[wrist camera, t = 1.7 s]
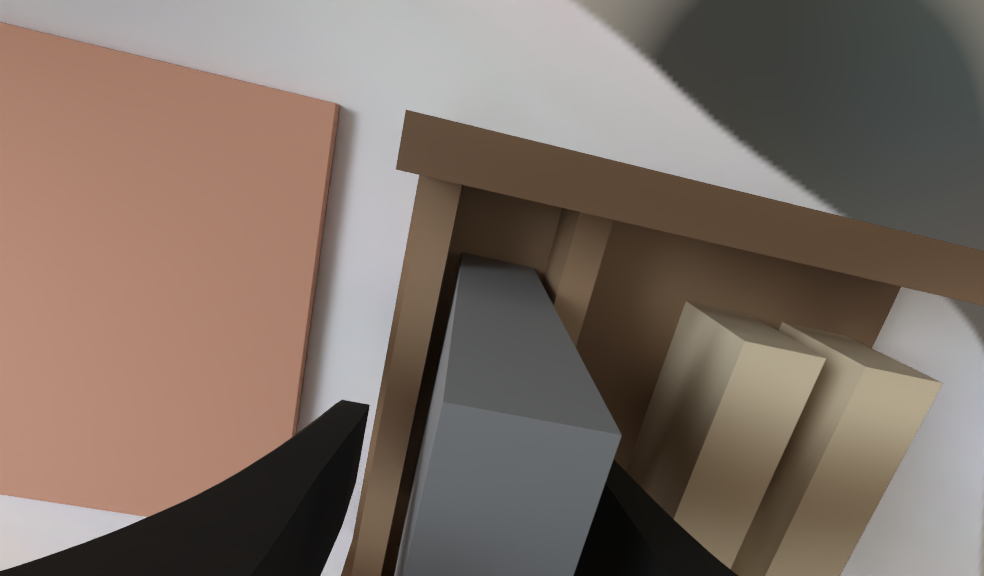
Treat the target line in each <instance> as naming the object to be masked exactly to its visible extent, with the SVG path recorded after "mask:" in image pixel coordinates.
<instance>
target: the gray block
mask: <svg viewBox="0 0 984 576" xmlns="http://www.w3.org/2000/svg"><path fill="white" fill-rule="evenodd" d="M621 436H622V435H621V433H620V431H619V429H618V427H617V425H616V423H615V421H614V419H613V418H612V416H611V414H610V412H609V410H608V408H607V406H606V404H605V402H604V400H603V399H602V397H601V395H600V393H599V391H598V389H597V387H596V385H595V383H594V382H593V380H592V378H591V376H590V374H589V372H588V370H587V368H586V366H585V364H584V363H583V361H582V359H581V357H580V355H579V353H578V351H577V349H576V347H575V346H574V344H573V342H572V340H571V338H570V336H569V334H568V332H567V330H566V329H565V327H564V325H563V323H562V321H561V319H560V317H559V315H558V313H557V311H556V310H555V308H554V306H553V304H552V302H551V300H550V298H549V296H548V294H547V293H546V291H545V289H544V287H543V285H542V283H541V281H540V279H539V277H538V275H537V274H536V272H535V270H534V268H533V267H528V266H523V265H519V264H514V263H510V262H505V261H500V260H496V259H491V258H487V257H482V256H477V255H473V254H468V253H464V252H462V256H461V260H460V265H459V269H458V274H457V279H456V283H455V288H454V293H453V297H452V302H451V306H450V311H449V316H448V320H447V325H446V330H445V334H444V339H443V343H442V348H441V353H440V357H439V362H438V367H437V371H436V376H435V380H434V385H433V390H432V394H431V399H430V404H429V408H428V413H427V417H426V422H425V427H424V431H423V436H422V441H421V445H420V450H419V454H418V459H417V464H416V468H415V473H414V478H413V482H412V487H411V491H410V496H409V501H408V507H407V512H406V517H405V522H404V527H403V533H402V538H401V543H400V548H399V554H398V559H397V564H396V569H395V574H394V576H573V575H574V572H575V569H576V566H577V564H578V561H579V558H580V555H581V552H582V549H583V546H584V543H585V540H586V538H587V535H588V532H589V529H590V526H591V523H592V520H593V517H594V514H595V511H596V509H597V506H598V503H599V500H600V497H601V494H602V491H603V488H604V485H605V482H606V480H607V477H608V474H609V471H610V468H611V465H612V462H613V459H614V456H615V453H616V451H617V448H618V445H619V442H620V439H621Z"/></svg>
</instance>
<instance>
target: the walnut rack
mask: <svg viewBox="0 0 984 576" xmlns="http://www.w3.org/2000/svg"><path fill="white" fill-rule="evenodd" d="M396 169H397V170H401V171H405V172H410V173H414V174H418V175H419V180H418V186H417V191H416V197H415V202H414V207H413V213H412V218H411V224H410V229H409V235H408V240H407V246H406V251H405V257H404V262H403V267H402V273H401V278H400V284H399V289H398V295H397V300H396V306H395V311H394V317H393V322H392V327H391V333H390V338H389V344H388V349H387V355H386V360H385V366H384V371H383V377H382V382H381V387H380V393H379V398H378V404H377V409H376V415H375V420H374V426H373V431H372V437H371V442H370V447H369V453H368V458H367V464H366V469H365V475H364V480H363V486H362V491H361V497H360V502H359V507H358V513H357V518H356V524H355V529H354V535H353V539H352V543H351V546H350V549H349V552H348V555H347V558H346V561H345V565H344V568H343V571H342V574H341V576H394V574H395V569H396V564H397V559H398V554H399V548H400V543H401V538H402V533H403V527H404V522H405V517H406V512H407V507H408V501H409V496H410V491H411V487H412V482H413V478H414V473H415V468H416V464H417V459H418V454H419V450H420V445H421V441H422V436H423V431H424V427H425V422H426V417H427V413H428V408H429V404H430V399H431V394H432V390H433V385H434V380H435V376H436V371H437V367H438V362H439V357H440V353H441V348H442V343H443V339H444V334H445V330H446V325H447V320H448V316H449V311H450V306H451V302H452V297H453V293H454V288H455V283H456V279H457V274H458V269H459V265H460V260H461V256H462V252H464V253H468V254H473V255H477V256H482V257H487V258H491V259H496V260H500V261H505V262H510V263H514V264H519V265H523V266H528V267H533V268H534V270H535V272H536V274H537V275H538V277H539V279H540V281H541V283H542V285H543V287H544V289H545V291H546V293H547V294H548V296H549V298H550V300H551V302H552V304H553V306H554V308H555V310H556V311H557V313H558V315H559V317H560V319H561V321H562V323H563V325H564V327H565V329H566V330H567V332H568V334H569V336H570V338H571V340H572V342H573V344H574V346H575V347H576V349H577V351H578V353H579V355H580V357H581V359H582V361H583V363H584V364H585V366H586V368H587V370H588V372H589V374H590V376H591V378H592V380H593V382H594V383H595V385H596V387H597V389H598V391H599V393H600V395H601V397H602V399H603V400H604V402H605V404H606V406H607V408H608V410H609V412H610V414H611V416H612V418H613V419H614V421H615V423H616V425H617V427H618V429H619V431H620V433H621V435H622V436H621V439H620V442H619V445H618V448H617V451H616V453H615V456H614V460H615V461H616V462H617V463H618V464H619V465H620V466H621V467H622V468H623V469H624V470H625V471H626V468H627V465H628V462H629V460H630V457H631V454H632V451H633V448H634V446H635V443H636V440H637V437H638V434H639V431H640V429H641V426H642V423H643V420H644V417H645V415H646V412H647V409H648V406H649V403H650V401H651V398H652V395H653V392H654V389H655V386H656V384H657V381H658V378H659V375H660V372H661V370H662V367H663V364H664V361H665V358H666V356H667V353H668V350H669V347H670V344H671V341H672V339H673V336H674V333H675V330H676V327H677V325H678V322H679V319H680V316H681V313H682V311H683V308H684V305H685V302H686V301H689V302H693V303H698V304H702V305H707V306H712V307H716V308H721V309H725V310H730V311H735V312H739V313H744V314H748V315H751V316H753V317H755V318H757V319H758V320H760V321H762V322H764V323H765V324H767V325H769V326H771V327H772V328H774V329H776V330H778V331H779V329H780V326H781V324H782V322H785V323H790V324H794V325H799V326H803V327H808V328H813V329H817V330H822V331H826V332H831V333H836V334H840V335H844V336H847V337H849V338H851V339H853V340H855V341H857V342H859V343H861V344H863V345H865V346H867V347H869V348H871V349H872V347H873V344H874V342H875V340H876V338H877V336H878V334H879V332H880V330H881V328H882V326H883V324H884V321H885V319H886V317H887V315H888V313H889V311H890V309H891V307H892V305H893V303H894V301H895V299H896V296H897V294H898V292H899V290H900V288H901V287H906V288H910V289H914V290H919V291H923V292H927V293H931V294H936V295H940V296H944V297H949V298H953V299H957V300H962V301H966V302H970V303H975V304H979V305H983V306H984V251H981V250H977V249H973V248H968V247H965V246H961V245H956V244H952V243H948V242H944V241H940V240H936V239H932V238H928V237H924V236H920V235H916V234H912V233H907V232H903V231H899V230H895V229H891V228H887V227H883V226H878V225H875V224H871V223H867V222H863V221H859V220H854V219H850V218H846V217H842V216H838V215H834V214H830V213H826V212H822V211H818V210H814V209H810V208H805V207H801V206H797V205H793V204H789V203H785V202H781V201H777V200H773V199H769V198H765V197H760V196H756V195H752V194H748V193H744V192H740V191H736V190H732V189H728V188H724V187H720V186H715V185H711V184H707V183H703V182H699V181H695V180H691V179H687V178H683V177H679V176H675V175H671V174H666V173H662V172H658V171H654V170H650V169H646V168H642V167H638V166H634V165H630V164H626V163H621V162H617V161H613V160H609V159H605V158H601V157H597V156H593V155H589V154H585V153H581V152H577V151H572V150H568V149H564V148H560V147H556V146H552V145H548V144H544V143H540V142H536V141H532V140H527V139H523V138H519V137H515V136H511V135H507V134H503V133H499V132H495V131H491V130H487V129H483V128H478V127H474V126H470V125H466V124H462V123H458V122H454V121H450V120H446V119H442V118H438V117H433V116H429V115H425V114H421V113H417V112H413V111H409V110H406V113H405V119H404V125H403V131H402V137H401V143H400V148H399V154H398V160H397V166H396Z"/></svg>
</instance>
